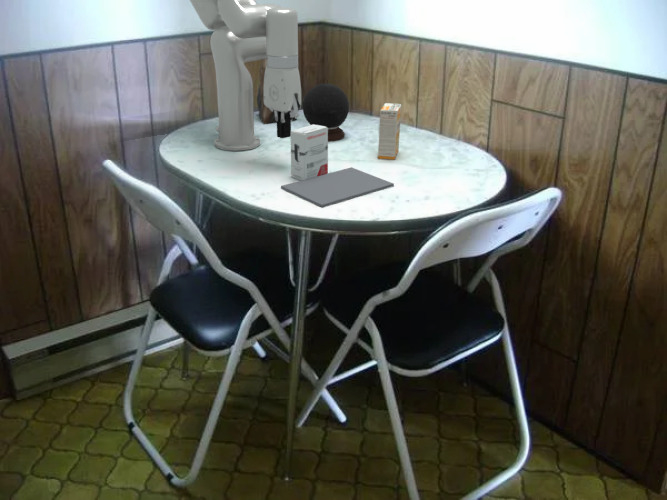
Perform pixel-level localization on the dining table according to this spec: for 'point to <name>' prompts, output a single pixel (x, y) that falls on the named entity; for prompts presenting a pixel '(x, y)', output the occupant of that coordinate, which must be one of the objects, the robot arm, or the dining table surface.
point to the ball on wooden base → (327, 109)
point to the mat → (336, 186)
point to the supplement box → (389, 131)
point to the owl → (264, 111)
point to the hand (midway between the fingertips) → (284, 136)
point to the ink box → (309, 152)
